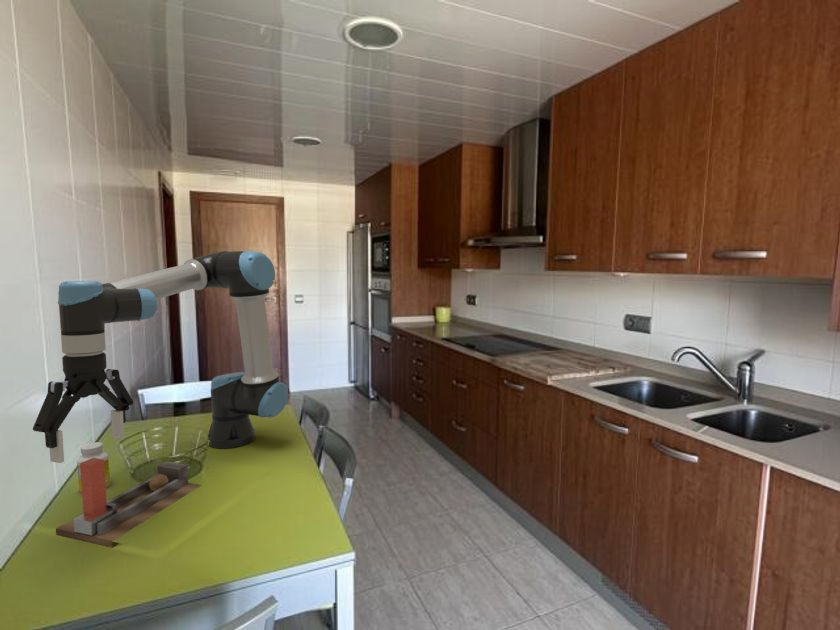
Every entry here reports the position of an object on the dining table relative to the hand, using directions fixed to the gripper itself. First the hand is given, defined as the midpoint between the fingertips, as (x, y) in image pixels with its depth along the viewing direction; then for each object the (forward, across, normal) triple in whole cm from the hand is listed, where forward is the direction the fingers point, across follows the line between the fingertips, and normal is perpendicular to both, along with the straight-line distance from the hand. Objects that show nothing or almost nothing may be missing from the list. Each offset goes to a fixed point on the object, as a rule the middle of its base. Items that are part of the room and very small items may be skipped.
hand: (89, 449), depth 98 cm
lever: (+18, 0, 0) cm, 18 cm away
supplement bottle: (+20, -14, -18) cm, 30 cm away
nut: (+18, -18, 0) cm, 25 cm away
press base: (+20, -10, 0) cm, 22 cm away
